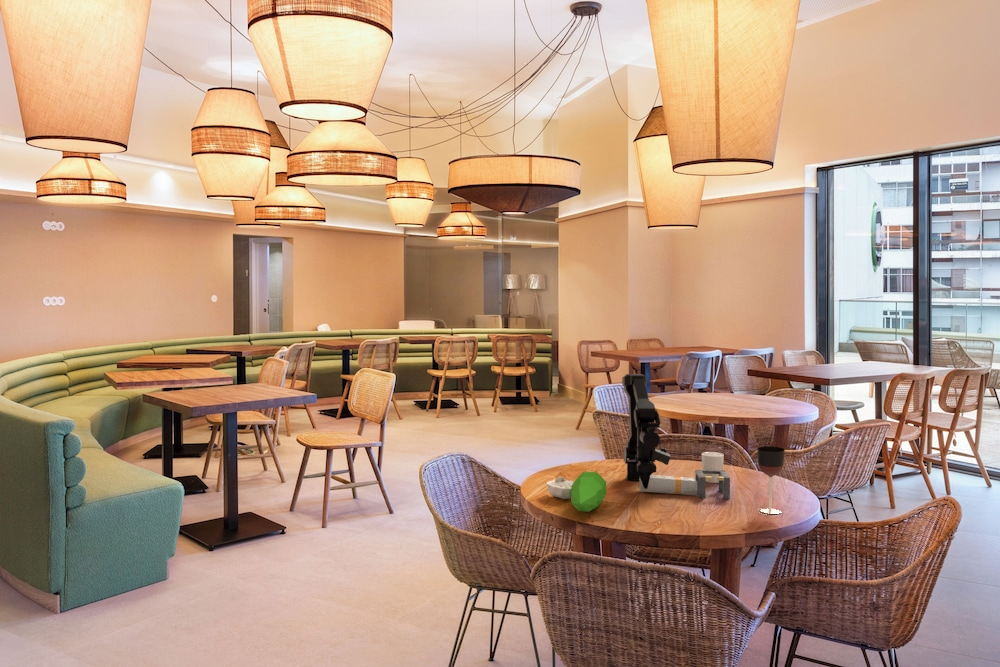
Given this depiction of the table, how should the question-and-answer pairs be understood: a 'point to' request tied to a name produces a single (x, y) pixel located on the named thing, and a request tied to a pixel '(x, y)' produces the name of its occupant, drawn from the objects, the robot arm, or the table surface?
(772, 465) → the wineglass
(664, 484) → the grey rectangular bar
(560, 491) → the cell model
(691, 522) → the table surface
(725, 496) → the grey c-shaped bracket
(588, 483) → the decorative tree
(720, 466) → the white cup
